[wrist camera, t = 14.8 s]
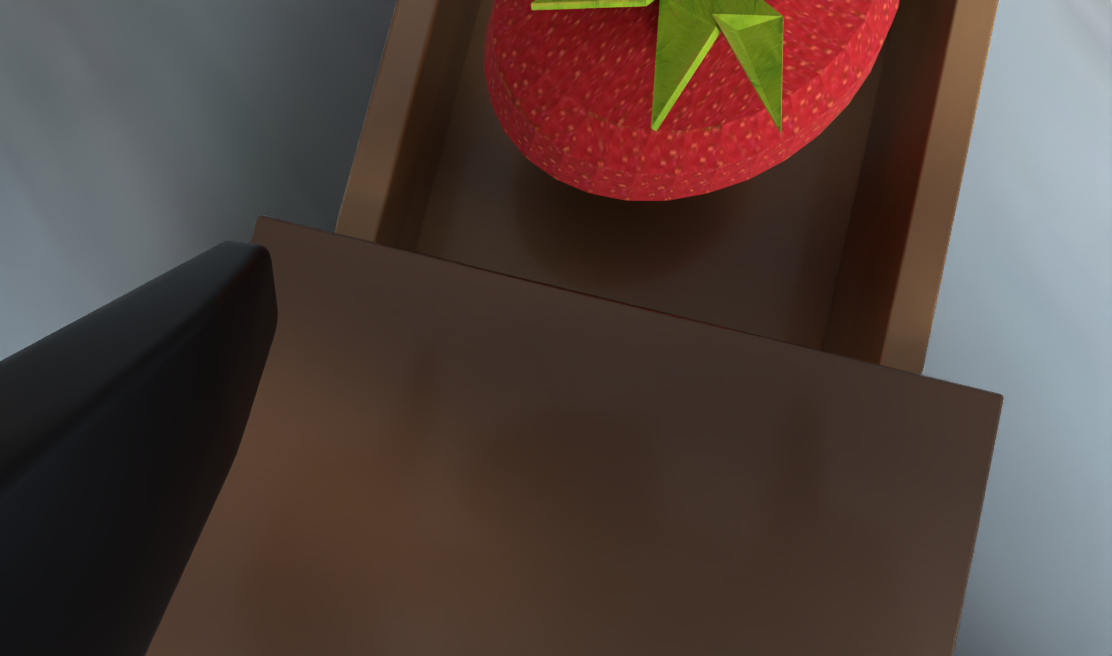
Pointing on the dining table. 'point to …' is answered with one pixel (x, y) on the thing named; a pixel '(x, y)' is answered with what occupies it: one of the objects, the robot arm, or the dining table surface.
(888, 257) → the drawer
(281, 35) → the dining table surface
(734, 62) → the strawberry
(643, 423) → the cabinet
